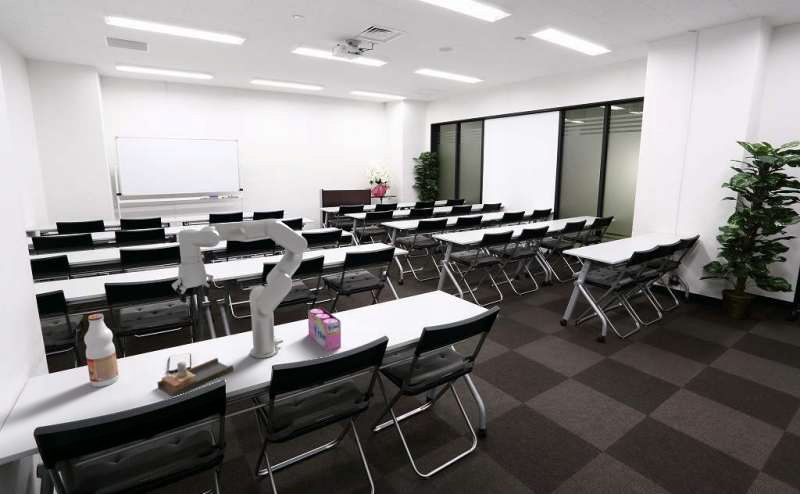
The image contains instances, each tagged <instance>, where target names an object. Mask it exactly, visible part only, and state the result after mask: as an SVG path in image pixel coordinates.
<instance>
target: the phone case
mask: <svg viewBox="0 0 800 494" xmlns="http://www.w3.org/2000/svg"><path fill="white" fill-rule="evenodd" d="M180 362H186V369H187V370H188V369H191V368H192V354H191V353H190V352H187V353H182V354H181V353H180V354H176V355H175V354H174V355H170V356H169V357H168V365H167V367H168V368H167V371H168V372H167V373H168V374H170V375H172V374H175V373H177V372H178V366H177V364H178V363H180Z"/></svg>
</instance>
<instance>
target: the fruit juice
mask: <svg viewBox="0 0 800 494" xmlns="http://www.w3.org/2000/svg"><path fill="white" fill-rule="evenodd" d="M87 321H88V322H89V326H88V329H87V332H86V333H85V335H84V338H83V341H84V344H85V346H86V349H85V356H86V364H87V369H88V376H89V383H90V385H91V386H92V387H94V388H95V387H96V388H102V387H107V386H109V385H113V384H114V383H115V382H117V381H118V380H119V378H120V375H119V368H118V367H119V366H118V360H117V354H116V353H117V352H116V347H115V344H114V342H113V338H114V334H113V331H112V330H111V329H110V328H108V326H106V323H105V322H104V314H103V313H94V314H92V315H88V317H87Z"/></svg>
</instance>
